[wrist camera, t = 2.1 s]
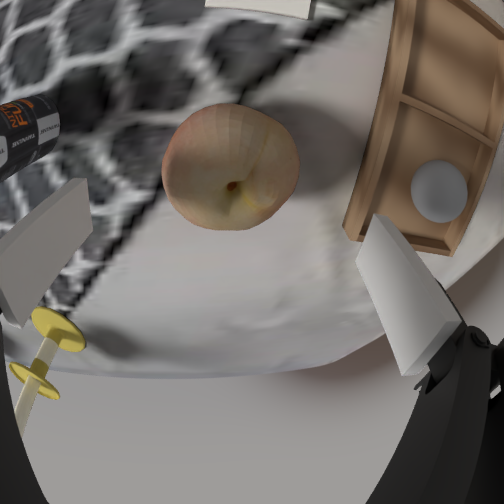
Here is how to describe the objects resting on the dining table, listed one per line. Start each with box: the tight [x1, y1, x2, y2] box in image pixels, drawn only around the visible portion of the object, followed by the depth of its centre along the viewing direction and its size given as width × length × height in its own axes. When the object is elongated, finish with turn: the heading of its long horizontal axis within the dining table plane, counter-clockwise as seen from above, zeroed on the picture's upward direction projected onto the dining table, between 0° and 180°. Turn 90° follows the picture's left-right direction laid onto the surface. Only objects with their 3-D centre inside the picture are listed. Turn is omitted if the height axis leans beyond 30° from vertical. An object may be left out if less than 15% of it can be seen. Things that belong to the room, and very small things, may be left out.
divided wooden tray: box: [342, 0, 504, 257], centre depth 16 cm, size 24×12×2 cm, turn 172°
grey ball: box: [411, 160, 468, 223], centre depth 18 cm, size 5×5×5 cm
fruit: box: [162, 104, 300, 231], centre depth 17 cm, size 8×8×8 cm
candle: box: [9, 306, 85, 438], centre depth 22 cm, size 10×10×27 cm
